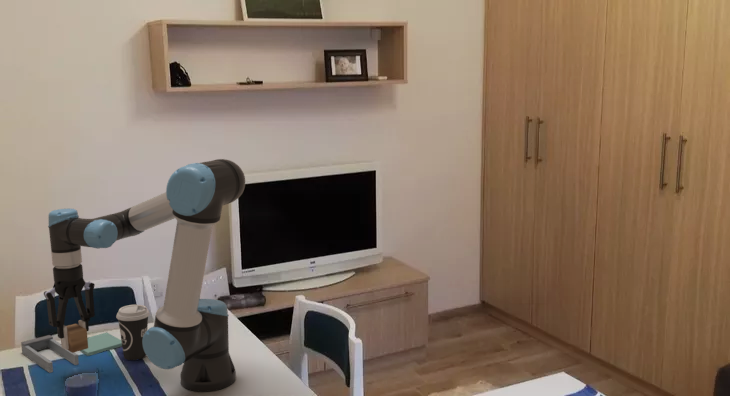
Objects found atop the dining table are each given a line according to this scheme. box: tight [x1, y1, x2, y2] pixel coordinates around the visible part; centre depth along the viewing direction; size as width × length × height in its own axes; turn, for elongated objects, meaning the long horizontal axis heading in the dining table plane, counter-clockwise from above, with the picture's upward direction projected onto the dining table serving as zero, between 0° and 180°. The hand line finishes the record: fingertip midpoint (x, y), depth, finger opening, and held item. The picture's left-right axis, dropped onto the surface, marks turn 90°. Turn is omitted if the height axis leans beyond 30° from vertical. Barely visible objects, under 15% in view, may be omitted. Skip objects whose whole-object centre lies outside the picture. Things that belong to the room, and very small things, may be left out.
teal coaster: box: [80, 332, 122, 357], centre depth 221 cm, size 12×12×1 cm
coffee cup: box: [115, 304, 151, 361], centre depth 212 cm, size 10×10×15 cm
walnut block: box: [60, 323, 88, 353], centre depth 197 cm, size 7×4×6 cm, turn 46°
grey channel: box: [20, 334, 80, 374], centre depth 210 cm, size 20×8×4 cm, turn 46°
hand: (74, 345), depth 197 cm, fingers closed on walnut block, 4 cm apart
